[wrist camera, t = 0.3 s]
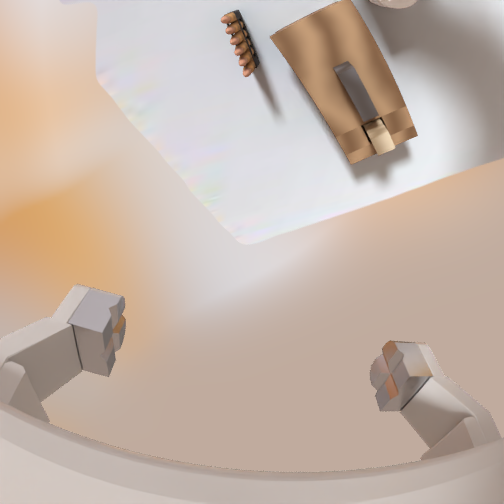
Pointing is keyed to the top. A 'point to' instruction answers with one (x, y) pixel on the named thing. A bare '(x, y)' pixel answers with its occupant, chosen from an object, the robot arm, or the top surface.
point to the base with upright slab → (394, 3)
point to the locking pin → (379, 136)
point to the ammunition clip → (241, 42)
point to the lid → (345, 76)
